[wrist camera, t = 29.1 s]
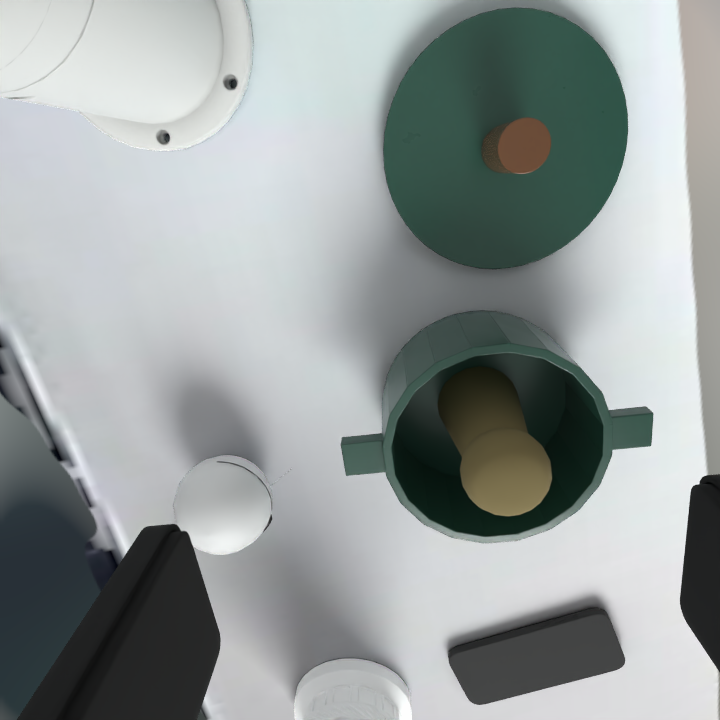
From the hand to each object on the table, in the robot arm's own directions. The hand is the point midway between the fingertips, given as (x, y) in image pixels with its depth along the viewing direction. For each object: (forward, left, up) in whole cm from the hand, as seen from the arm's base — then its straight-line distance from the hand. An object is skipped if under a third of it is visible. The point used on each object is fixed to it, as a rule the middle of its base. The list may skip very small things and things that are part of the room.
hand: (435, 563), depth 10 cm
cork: (+10, -6, -28) cm, 30 cm away
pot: (+10, -6, -28) cm, 31 cm away
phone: (+28, -26, -28) cm, 48 cm away
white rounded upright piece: (-3, -20, -28) cm, 35 cm away
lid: (+2, +10, -28) cm, 30 cm away
